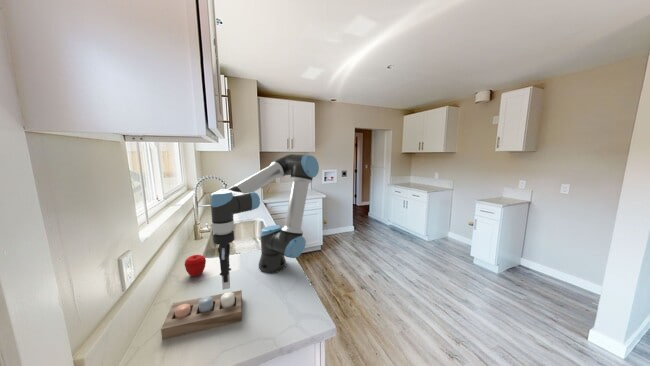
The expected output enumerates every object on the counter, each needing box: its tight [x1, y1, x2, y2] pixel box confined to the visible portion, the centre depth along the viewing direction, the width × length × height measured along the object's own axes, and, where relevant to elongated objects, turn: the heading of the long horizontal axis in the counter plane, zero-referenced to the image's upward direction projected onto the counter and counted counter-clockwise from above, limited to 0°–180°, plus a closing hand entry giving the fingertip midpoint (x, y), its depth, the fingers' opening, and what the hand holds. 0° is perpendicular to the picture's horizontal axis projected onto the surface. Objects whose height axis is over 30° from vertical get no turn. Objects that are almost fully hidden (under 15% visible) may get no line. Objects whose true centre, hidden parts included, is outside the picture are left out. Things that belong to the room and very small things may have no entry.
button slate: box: [198, 295, 214, 314], centre depth 88 cm, size 5×5×5 cm
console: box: [160, 289, 243, 340], centre depth 89 cm, size 14×26×4 cm, turn 109°
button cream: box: [221, 291, 235, 309], centre depth 91 cm, size 5×5×5 cm
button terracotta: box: [175, 304, 191, 319], centre depth 86 cm, size 5×5×5 cm
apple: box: [184, 254, 207, 278], centre depth 117 cm, size 10×10×11 cm
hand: (226, 287), depth 90 cm, fingers closed
